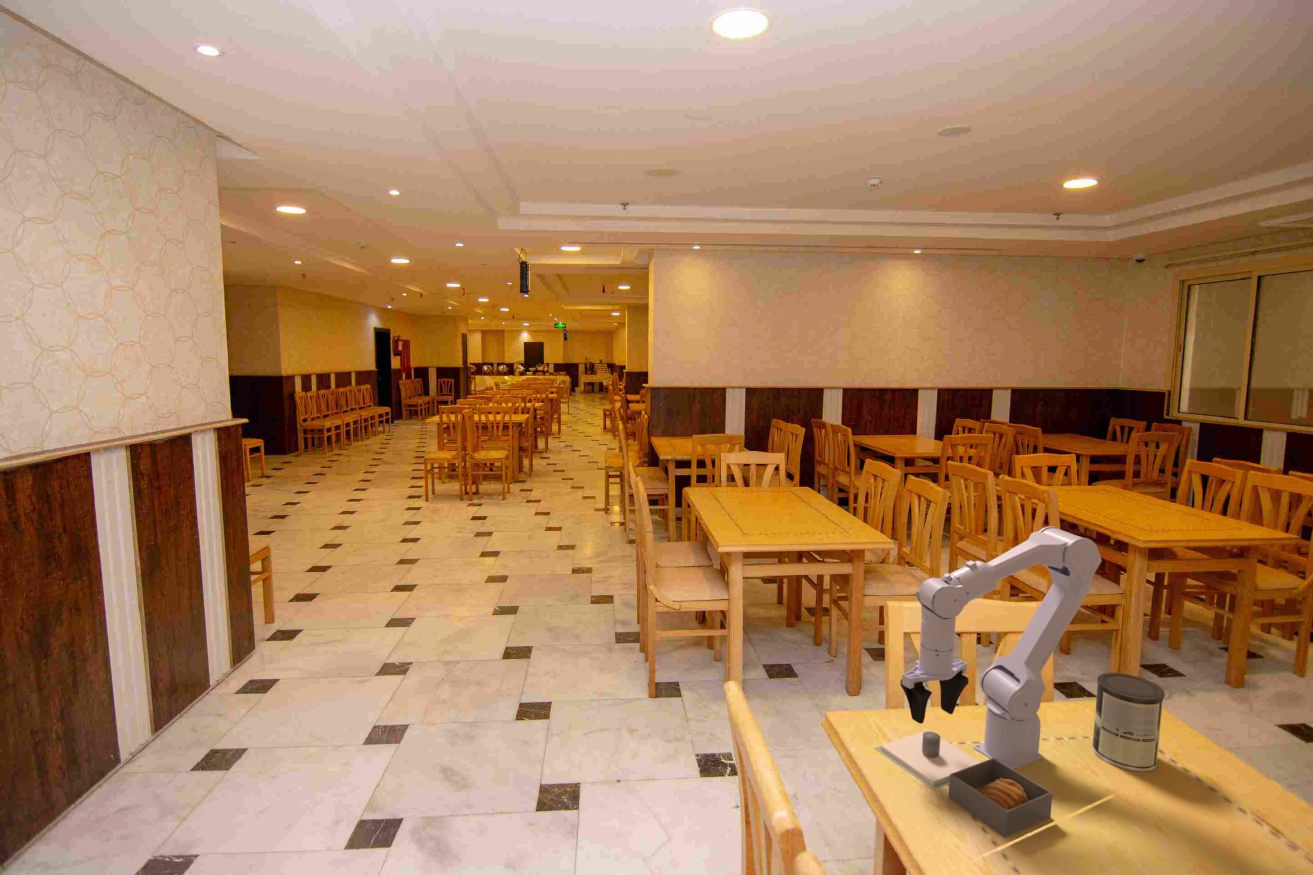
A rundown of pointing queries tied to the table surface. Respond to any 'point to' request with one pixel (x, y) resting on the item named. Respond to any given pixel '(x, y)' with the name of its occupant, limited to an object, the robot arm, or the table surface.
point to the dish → (990, 811)
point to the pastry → (1005, 793)
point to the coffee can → (1127, 721)
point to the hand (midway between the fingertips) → (932, 716)
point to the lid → (929, 756)
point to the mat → (913, 772)
